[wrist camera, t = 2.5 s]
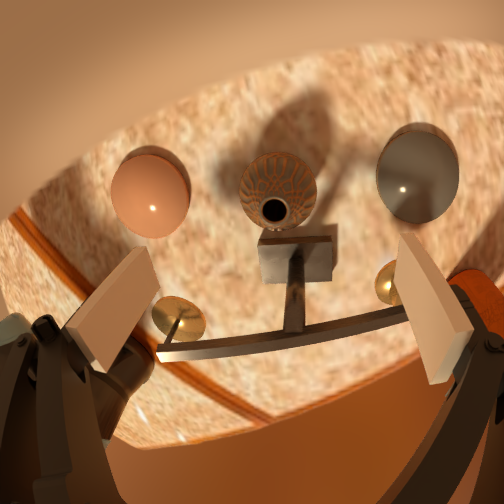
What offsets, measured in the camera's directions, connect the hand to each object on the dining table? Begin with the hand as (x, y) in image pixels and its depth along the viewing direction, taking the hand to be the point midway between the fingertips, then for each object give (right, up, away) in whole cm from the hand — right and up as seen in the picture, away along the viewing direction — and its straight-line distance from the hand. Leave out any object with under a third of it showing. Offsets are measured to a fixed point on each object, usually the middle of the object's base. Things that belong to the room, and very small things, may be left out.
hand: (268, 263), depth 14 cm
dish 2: (+17, +8, +11) cm, 22 cm away
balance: (+4, 0, +18) cm, 19 cm away
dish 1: (-13, +7, +17) cm, 22 cm away
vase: (+2, +8, +14) cm, 16 cm away
